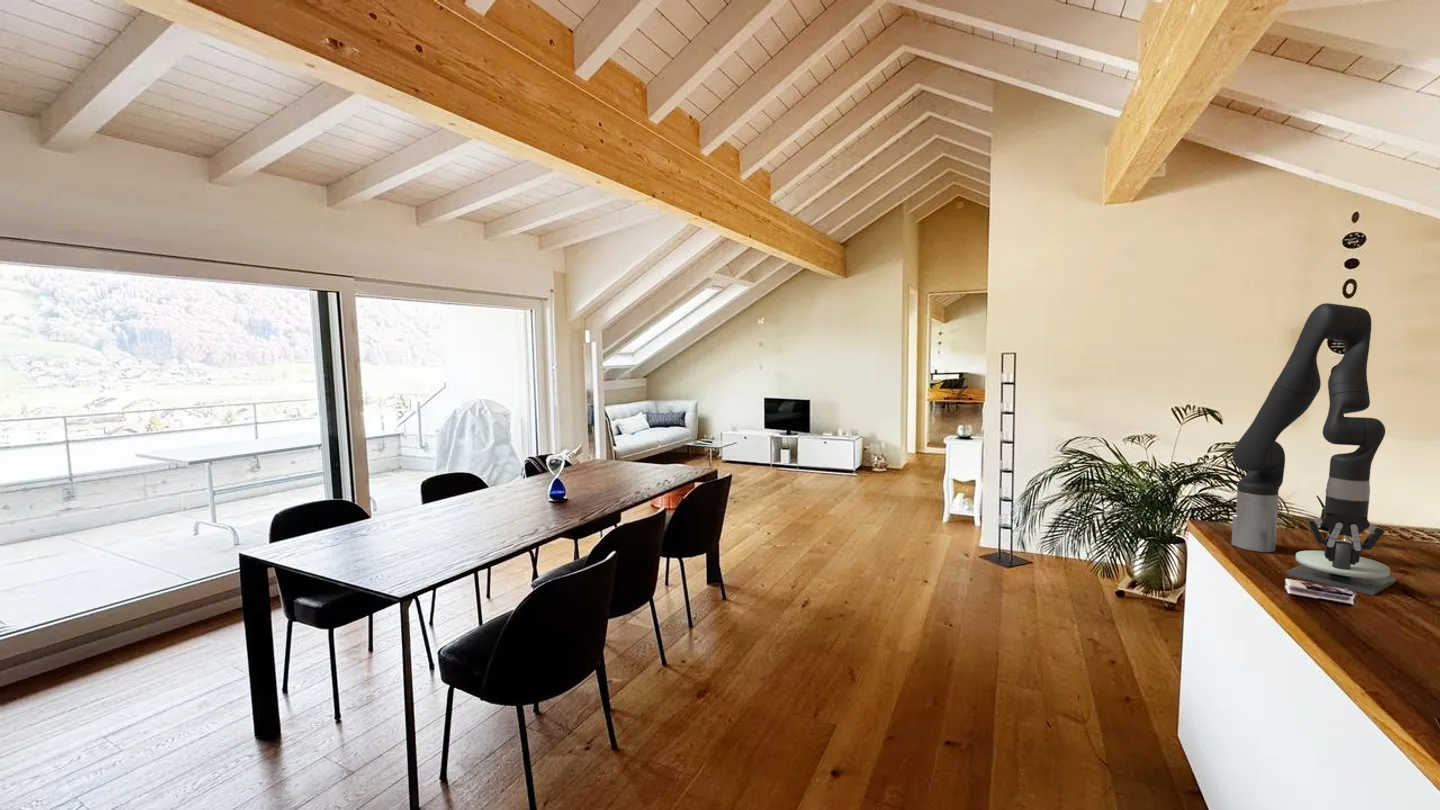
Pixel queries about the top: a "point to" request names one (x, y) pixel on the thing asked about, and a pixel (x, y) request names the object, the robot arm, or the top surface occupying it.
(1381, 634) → the top surface
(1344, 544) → the handwheel
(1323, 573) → the wheel stand
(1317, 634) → the top surface
